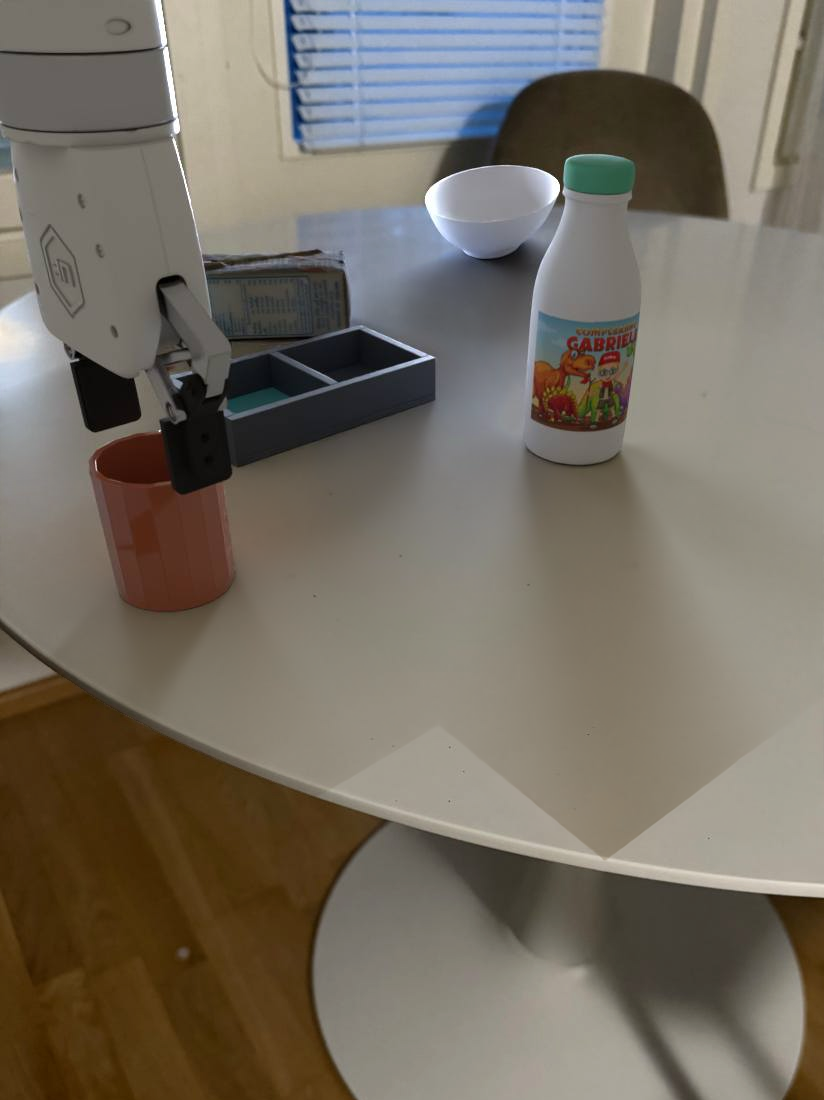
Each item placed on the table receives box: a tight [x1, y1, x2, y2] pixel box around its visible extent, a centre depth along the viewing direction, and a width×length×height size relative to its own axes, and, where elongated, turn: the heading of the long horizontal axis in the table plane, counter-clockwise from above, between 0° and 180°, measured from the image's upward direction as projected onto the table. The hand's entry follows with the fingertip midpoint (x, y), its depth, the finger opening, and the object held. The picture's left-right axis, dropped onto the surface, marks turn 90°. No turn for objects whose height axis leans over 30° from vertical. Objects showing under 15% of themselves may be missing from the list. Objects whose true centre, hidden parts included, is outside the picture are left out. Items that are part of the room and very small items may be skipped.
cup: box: [87, 430, 236, 612], centre depth 55 cm, size 7×7×8 cm
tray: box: [169, 324, 437, 467], centre depth 76 cm, size 10×19×4 cm, turn 133°
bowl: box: [424, 164, 560, 260], centre depth 116 cm, size 30×15×6 cm, turn 167°
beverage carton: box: [201, 248, 353, 340], centre depth 90 cm, size 8×19×7 cm, turn 98°
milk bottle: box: [522, 153, 642, 466], centre depth 67 cm, size 8×8×20 cm
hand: (156, 453), depth 52 cm, fingers open, 9 cm apart
